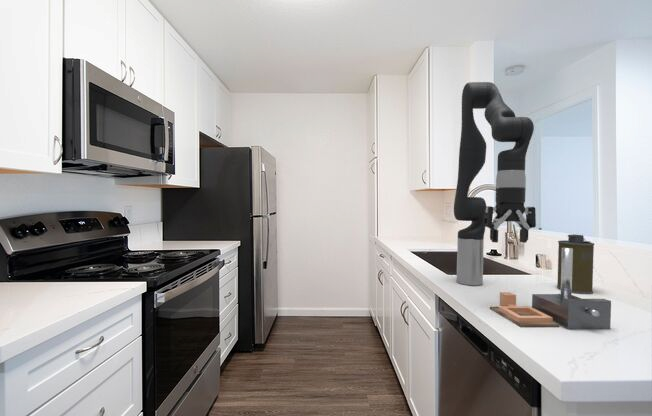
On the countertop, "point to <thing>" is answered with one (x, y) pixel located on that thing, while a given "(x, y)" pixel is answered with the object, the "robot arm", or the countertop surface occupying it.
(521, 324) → the board
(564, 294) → the block
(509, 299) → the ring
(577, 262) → the canister
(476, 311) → the countertop surface
